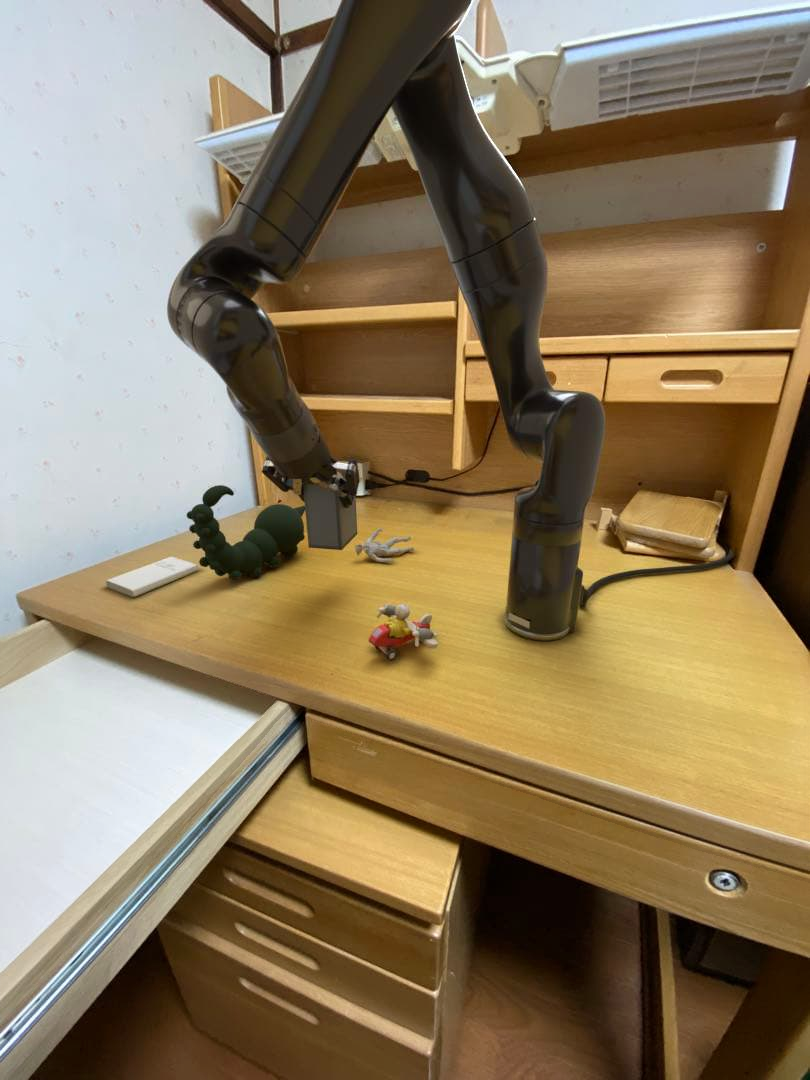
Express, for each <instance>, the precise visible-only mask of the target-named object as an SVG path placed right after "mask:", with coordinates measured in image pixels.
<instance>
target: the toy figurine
mask: <svg viewBox="0 0 810 1080" xmlns="http://www.w3.org/2000/svg"><path fill="white" fill-rule="evenodd" d="M226 495H228V496H232V497H233V496H234V495H235V493H234V490H233V489H232V488H230V487H229V486H226V485H224V484H219V485H215V486H214V485H213V486H211V487H209V488H208V489H207V490H206V491H205V492H204V493H203V495H202V497H201V499H202V503H198V504H196V505H195V506H193V507H192V508H191V510H189V511H187V512H186V518H187V519H188V520H191V521H192V522H193V524H191V525H189V528H188V530H189V532H190V533H192V534H196V536H197V537H198V539H197V540H195V541H194V542H193V544H192V545H193V548H194V549H196V550H200V549H201V550H202V551H203V552H204V556H202V557H200V559H199V560H198V563H199V565H200V567H203V568H207V567H209V569H210V570H212V571H214V574H216V576H219V577H223V576H225V575H226V574H228V579H230V581H234V582H235V581H239V580H240V579H241V577H242V575H249V574H250V576H251V577H253V578H259V577H260V576H261V575H262V573H263V572H262V568H261V566H262V565H263V564H266V565H267V566H269V568H276V567H278V566H279V565H280V564H281V557H280V556H279V554H280V555H282V556H283V557H287V558H289V557H293V556H295V555H296V554H297V553H298V551H299V547H298V545H299V543H301V542H302V541H304V540H305V537H306V536H305V524H304V520H303V516H304V513H305V505H301V506H297V507H294V508H293V507H292V506H290V505H287V504H283V503H276V504H271V505H269V506H267V507H265V508H264V509H262V510H261V511H260V512H259V513H258V514H257V516H256V518H255V520H254V523H253V529H251V530H249V531H248V532H247V533H246V534H245V535H244V536H243V538H242V540H240V541H238V542H235V543H234V544H233V545H232V544H231V543H229V542H228V541H227V539H226V536H225V534H224V532H222V531H221V529H220V528H221V527H220V523H219V520H217V518H215V517H214V516H215V514H214V513H215V512H214V510H213V508H212V507H214V506H216V505H217V504H218V503H219V501H220V500H221V499H222V498H223V497H224V496H226ZM278 553H279V554H278Z"/></svg>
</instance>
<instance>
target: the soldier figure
mask: <svg viewBox="0 0 810 1080" xmlns="http://www.w3.org/2000/svg"><path fill="white" fill-rule="evenodd" d="M383 529H385V527H384V526H382V527H381V526H380V527H379V528H377V530H375V532H373V533H372V534H371V535H370V536H369V538H367V539H366V540H365V541H364V543H363V544H355V545H354V548H355V549H354V550H355V553H356V555H357V556H359V555H360V554H361V553H362V552H364V553H365V554H366V556H367V557H368V558H370V559H371V560H373V561H375V562H376V563H392V562H394V558H393V557H392V558H391V557H390V556H395V555H402V554H403V553H405V552H413V551H414V550H415V546H410V547H405V548H401V547H395V548H392V547H393V546H395V545H396V544H399V543H402V542H405V543H407V542H410V541H411V539H412V536H411V535H408V536H406V537H397V536H395V537H393V538H390V539H389V540H387V541H385V543H384V542H380V541H374V540H375V539H376V538H377V536H378V535H379V533H380V532H383ZM378 556H379V557H378ZM382 557H383V558H382ZM384 557H389V558H384Z"/></svg>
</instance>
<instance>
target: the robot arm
mask: <svg viewBox="0 0 810 1080" xmlns="http://www.w3.org/2000/svg"><path fill="white" fill-rule="evenodd" d="M473 2H474V0H340V3H339V5H338V8H337V11H336V13H335V15H334V17H333V19H332V21H331V23H330V26H329V28H328V29H327V30H328V31H327V33H326V35H325V37H324V39H323V41H322V43H321V45H320V47H319V49H318V52H317V54H316V56H315V57H314V59H313V62H312V63H311V65H310V67H309V68H308V71H307V73H306V75H305V77H304V78H303V80H302V82H301V84H300V86H299V88H298V90H297V91H296V93H295V95H294V97H293V98H292V100H291V102H290V103H289V105H288V106H287V109H286V110H285V112H284V114H283V116H282V118H281V119H280V121H279V123H278V125H277V126H276V128H275V129H274V131H273V133H272V135H271V136H270V138H269V140H268V141H267V144H266V145H265V147H264V149H263V151H262V153H261V155H260V156H259V158H258V159H257V161H256V163H255V165H254V167H253V169H252V170H251V173H250V174H249V176H248V178H247V180H246V182H245V184H244V186H243V187H242V190H241V191H240V193H239V195H238V197H237V199H236V201H235V203H234V205H233V207H232V209H231V211H230V213H229V216H228V217H227V219H226V220H225V221H224V223H222V225H221V226H220V227H218V228H217V229H216V230H215V231H214V232H213V233H212V234H211V235H210V236H209V237H208V238H207V239H206V241H205V242H204V243H202V245H201V246H200V247H199V248H198V249H197V250H196V251H195V252H194V253H193V255H192V256H191V257H190V258H189V259H188V260H187V262H186V263H185V264H184V265H183V267H182V268H181V269H180V270H179V272H178V273H177V274H176V277H175V279H174V281H173V283H172V285H171V287H170V290H169V293H168V298H167V303H166V316H167V320H168V321H167V322H168V323H169V325H170V329H171V330H172V332H173V333H174V335H175V337H177V339H178V340H179V341H180V342H181V343H182V344H183V345H185V346H186V347H187V348H189V349H190V350H191V351H192V352H194V353H195V354H196V355H197V356H198V357H200V358H201V359H202V360H203V361H204V362H205V363H206V364H208V365H209V366H210V367H211V368H212V370H213V371H214V372H215V373H216V374H217V375H218V377H219V378H220V379H221V380H222V381H223V383H224V384H225V387H226V388H225V389H226V393H227V397H228V399H229V401H230V403H231V404H232V406H233V408H234V409H235V411H236V412H237V413H238V416H240V418H241V419H242V420H243V422H244V423H245V424H246V427H248V429H249V431H250V432H251V434H252V435H251V436H252V438H254V440H255V442H256V444H257V445H258V446H259V448H260V449H261V450H262V451H263V453H264V454H265V456H266V457H265V460H264V463H263V466H262V469H261V473H262V474H263V475H264V476H265V477H266V478H267V479H268V480H269V481H270V482H272V483H273V484H274V485H275V487H277V488H278V489H279V490H280V491H281V492H283V493H288V492H289V491H292V493H293V494H294V495H297V496H298V497H299V499H300V500H301V501H302V502H303V503H305V501H304V490H303V483H304V484H318V485H320V486H322V487H323V488H324V489H326V490H327V491H328V492H332V491H333V492H334V493H336V494H337V495H338V497H339V499H340V500H341V502H342V504H343V506H344V507H345V508H350V505H352V503H353V498H354V496H357V495H358V489H359V484H360V481H361V479H360V471H359V465H358V461H357V460H355V459H353V458H351V459H348V462H347V463H344V462H343V463H342V462H338V460H337V459H336V458H335V457H333V455H331V453H330V449H329V445H328V443H327V441H326V439H325V437H324V435H323V433H322V431H321V429H320V427H319V425H318V423H317V421H316V420H315V417H314V415H313V413H312V411H311V409H310V408H309V406H308V405H307V404H306V402H304V400H303V399H302V397H301V395H300V392H299V391H298V390H297V389H298V388H297V387H296V385H295V384H294V381H293V380H292V378H291V376H290V375H289V370H288V363H287V360H286V355H285V351H284V347H283V343H282V339H281V337H280V334H279V333H278V330H277V328H276V326H275V325H274V323H273V321H272V320H271V318H270V317H269V316H268V314H267V313H266V312H265V310H264V309H263V308H262V307H261V306H260V305H259V304H258V303H257V302H255V301H254V300H252V299H253V298H254V296H256V295H257V294H258V292H259V291H260V290H261V289H262V288H263V287H265V286H266V285H269V284H275V285H281V286H285V285H286V286H287V285H289V284H291V283H293V282H294V281H295V280H296V279H297V277H298V276H299V275H300V273H301V272H302V270H303V269H304V267H305V265H306V264H307V261H308V260H309V258H310V256H311V254H312V253H313V251H314V250H315V248H316V246H317V244H318V243H319V242H320V241H319V240H320V239H321V237H322V235H323V234H324V232H325V231H326V228H327V227H328V226H329V223H330V222H331V219H332V218H333V216H334V215H335V214H334V213H335V212H336V210H337V208H338V206H339V204H340V202H341V201H342V199H343V196H344V195H345V192H346V190H347V189H348V187H349V184H350V182H351V181H352V179H353V176H354V174H355V173H356V171H357V169H358V167H359V165H360V163H361V161H362V159H363V158H364V155H365V153H366V152H367V150H368V148H369V146H370V144H371V142H372V140H373V139H374V137H375V135H376V133H377V131H378V130H379V128H380V126H381V124H382V123H383V121H384V119H385V117H386V116H387V114H388V112H389V111H390V109H391V110H392V112H393V115H394V116H395V119H396V121H397V123H398V125H399V127H400V130H401V132H402V134H403V136H404V139H405V140H406V141H405V142H406V143H407V145H408V148H409V151H410V153H411V155H412V158H413V161H414V163H415V166H416V169H417V171H418V175H419V178H420V180H421V184H422V186H423V189H424V192H425V194H426V197H427V201H428V205H430V206H429V207H430V209H431V212H432V214H433V217H434V220H435V222H436V225H437V228H438V231H439V234H440V237H441V239H442V242H443V245H444V248H445V253H446V255H447V257H448V261H449V263H450V266H451V269H452V272H453V274H454V276H455V279H456V282H457V284H458V287H459V290H460V292H461V295H462V298H463V300H464V302H465V305H466V307H467V309H468V312H469V314H470V317H471V320H472V323H473V325H474V329H475V331H476V334H477V337H478V340H479V343H480V346H481V349H482V351H483V355H484V357H485V359H486V362H487V365H488V368H489V371H490V374H491V377H492V380H493V384H494V388H495V392H496V395H497V399H498V404H499V407H500V412H501V415H502V420H503V424H504V427H505V431H506V434H507V437H508V440H509V441H510V444H511V445H512V447H513V449H514V450H515V451H516V452H517V453H518V454H519V456H522V457H524V458H526V459H527V460H530V461H534V462H537V463H541V469H540V475H539V479H538V482H537V484H536V485H532V486H527V487H523V488H521V489H519V490H518V491H517V492H516V495H515V496H514V503H513V516H512V517H513V518H512V531H511V543H510V546H511V547H510V555H509V567H508V581H507V593H506V603H505V604H506V606H505V612H504V623H505V626H506V627H507V628H508V629H509V630H510V631H511V632H513V633H515V634H516V635H518V636H521V637H523V638H527V639H530V640H536V641H555V640H559V639H561V638H564V637H566V636H567V635H568V634H569V633H572V632H576V627H577V620H578V614H579V608H580V607H579V606H581V607H585V605H586V604H587V602H588V600H589V599H590V598H591V596H592V595H593V593H594V592H595V590H597V589H598V588H599V587H601V586H602V585H604V584H607V583H609V582H612V581H616V580H618V579H623V578H629V577H633V576H641V575H650V574H651V575H652V574H653V575H654V574H663V573H673V572H686V571H688V572H689V571H698V570H705V569H710V568H715V567H718V566H721V565H725V564H726V563H728V562H729V561H731V560H732V559H733V558H734V557H735V555H736V553H735V554H734V555H733V552H732V550H731V549H730V548H729V552H728V554H727V555H726V556H725V557H722V558H720V559H717V560H714V561H713V560H712V561H709V562H704V563H699V564H688V565H677V566H666V567H654V568H641V569H632V570H627V571H622V572H618V573H613V574H610V575H606V576H604V577H601V578H600V579H598V580H596V581H595V582H592V584H591V585H590V586H589V587H588V588H585V587H586V586H584V585H583V578H584V572H583V570H582V569H581V568H580V567H578V566H579V560H580V552H581V545H582V538H583V531H584V523H585V515H586V510H587V508H588V507H587V506H588V504H589V502H590V500H591V498H592V497H593V494H594V491H595V488H596V482H597V479H598V478H597V477H598V473H599V468H600V463H601V458H602V453H603V448H604V442H605V436H606V429H607V428H606V427H607V425H606V412H605V409H604V405H603V403H602V402H601V400H600V399H599V397H597V396H596V395H594V394H592V393H590V392H587V391H580V390H566V389H565V390H560V389H554V387H553V386H552V384H551V382H550V380H549V377H548V374H547V371H546V368H545V364H544V360H543V358H542V353H541V346H540V333H541V332H540V331H541V325H542V319H543V314H544V309H545V303H546V297H547V291H548V279H549V271H548V270H549V269H548V262H547V257H546V253H545V252H546V251H545V249H544V248H545V247H544V244H543V241H542V238H541V233H540V230H539V227H538V221H537V219H536V217H535V216H536V215H535V212H534V208H533V205H532V202H531V200H530V197H529V196H528V193H527V191H526V189H525V187H524V185H523V183H522V182H521V180H520V178H519V177H518V175H517V174H516V172H515V170H513V168H512V166H511V165H510V164H509V162H508V160H507V159H506V158H505V156H504V155H503V153H502V152H501V151H500V150H499V148H498V147H497V146H496V144H495V143H494V141H493V140H492V138H491V137H490V135H489V134H488V133H487V131H486V129H485V128H484V125H483V124H482V122H481V120H480V118H479V116H478V114H477V111H476V109H475V106H474V104H473V103H474V102H473V101H472V98H471V95H470V92H469V88H468V84H467V81H466V77H465V73H464V69H463V67H462V63H461V62H462V61H461V59H460V54H459V51H458V46H457V42H456V41H457V40H456V37H455V33H456V32H457V31H458V29H459V27H460V26H461V25H462V23H463V22H464V20H465V19H466V17H467V15H468V13H469V11H470V9H471V6H472V4H473ZM339 483H340V487H339V486H338V484H339Z"/></svg>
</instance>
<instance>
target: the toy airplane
mask: <svg viewBox="0 0 810 1080" xmlns="http://www.w3.org/2000/svg"><path fill="white" fill-rule="evenodd" d="M410 613H411V609H410V607H409V606H408V605H407V604H403V603H402V604H398V605H397V606H395V605H391V603H390V602H388V603H387V604H386V605H383V606H381V607H379V608H378V613H377V614H376V618H377V619H379V618H381V616H382V615H384V616H386V617H387V618H388V622H383V624H382V623H381V624H380V625H378V626H377V627H376V628H375V629H374V630H373V631H372V633H370V636H369V637H368V643H370V644H371V645H372V646H374V649H375V650H377V651H382V652H383V653H384V654H385V658H386V659H387V660H388V661H389V660H390V661H393V660H394V659H395V658H396V657H397V652H396V650H395V649H393V648H397V647H400V646H402V645H403V644H406V643H408V642H410V641H412V640H414V646H415V647H416V648H418V647H419V646H420V642H422V643H423V644H424V645H425V646H427V647H429V648H431V649H437V647H438V644H439V643H438V641H437V640H436V639H437V636H438V634H437V633H436V632H434V631H433V630H431V629H430V628H431V623H432V619H433V615H432V614H431V613H426V614H425V615H423V616H422V617H421V618H420V619H419V621H418V620H415V621H410V620H409V619H408V618H409V617H410V615H411V614H410Z"/></svg>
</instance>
